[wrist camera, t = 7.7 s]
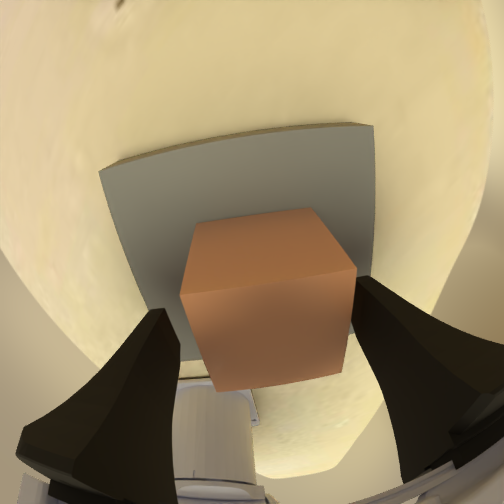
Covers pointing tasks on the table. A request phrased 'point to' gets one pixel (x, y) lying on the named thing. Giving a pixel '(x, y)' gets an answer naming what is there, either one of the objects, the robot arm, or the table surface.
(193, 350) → the grey square plate
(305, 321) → the terracotta cube
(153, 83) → the table surface
